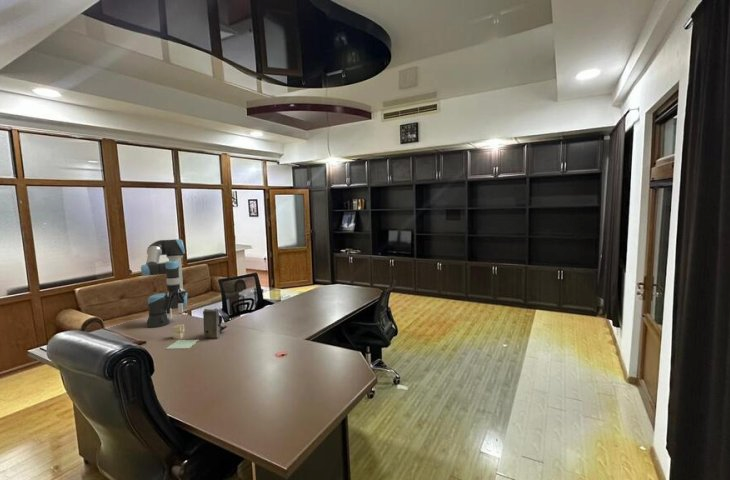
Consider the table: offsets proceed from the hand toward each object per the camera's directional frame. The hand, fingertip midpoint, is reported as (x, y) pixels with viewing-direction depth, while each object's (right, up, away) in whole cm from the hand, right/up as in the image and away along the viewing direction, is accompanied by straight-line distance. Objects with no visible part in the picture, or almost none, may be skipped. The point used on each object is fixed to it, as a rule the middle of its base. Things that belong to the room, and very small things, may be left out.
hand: (175, 315), depth 230 cm
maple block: (+1, -15, +2) cm, 16 cm away
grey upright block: (+25, -15, +5) cm, 30 cm away
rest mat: (+12, -16, -12) cm, 23 cm away
